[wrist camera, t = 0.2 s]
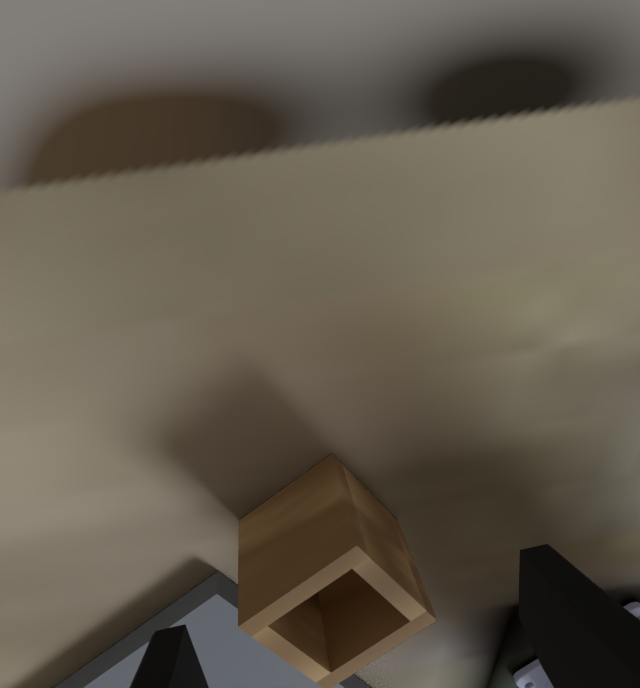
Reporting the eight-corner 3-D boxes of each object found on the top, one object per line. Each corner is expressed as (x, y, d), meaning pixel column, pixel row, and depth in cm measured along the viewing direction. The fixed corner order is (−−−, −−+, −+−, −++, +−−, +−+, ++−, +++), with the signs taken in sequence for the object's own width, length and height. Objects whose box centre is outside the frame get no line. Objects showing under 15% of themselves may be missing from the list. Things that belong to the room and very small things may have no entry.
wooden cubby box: (398, 521, 23) (436, 620, 18) (310, 581, 24) (326, 690, 19) (332, 453, 21) (356, 545, 16) (238, 520, 22) (237, 626, 17)
